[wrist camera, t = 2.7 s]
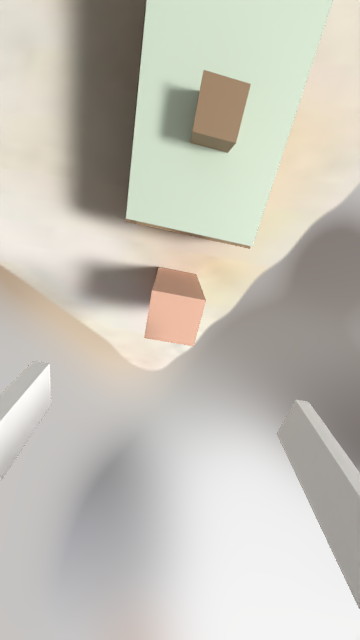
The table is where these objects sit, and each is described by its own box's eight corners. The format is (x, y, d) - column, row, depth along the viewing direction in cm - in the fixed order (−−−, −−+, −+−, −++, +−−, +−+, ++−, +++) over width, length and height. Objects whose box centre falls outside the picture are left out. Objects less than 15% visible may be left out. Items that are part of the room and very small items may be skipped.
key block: (153, 302, 31) (144, 338, 22) (158, 267, 29) (152, 290, 20) (188, 308, 32) (193, 346, 23) (196, 274, 30) (205, 300, 21)
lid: (127, 218, 20) (119, 219, 17) (160, -110, 13) (156, -217, 10) (249, 245, 21) (262, 250, 18) (340, -41, 14) (389, -116, 11)
